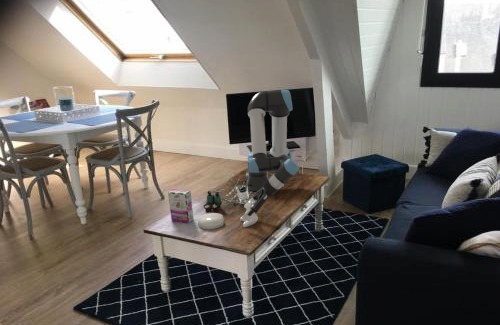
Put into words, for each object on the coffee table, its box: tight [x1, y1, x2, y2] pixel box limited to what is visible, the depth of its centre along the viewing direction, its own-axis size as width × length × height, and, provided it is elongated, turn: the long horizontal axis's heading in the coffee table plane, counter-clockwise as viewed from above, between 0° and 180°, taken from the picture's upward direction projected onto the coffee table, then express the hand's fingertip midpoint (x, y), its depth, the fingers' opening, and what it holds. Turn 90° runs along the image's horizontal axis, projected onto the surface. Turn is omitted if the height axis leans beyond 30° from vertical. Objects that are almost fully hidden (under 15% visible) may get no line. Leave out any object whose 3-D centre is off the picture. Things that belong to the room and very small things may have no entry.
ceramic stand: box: [197, 212, 225, 230], centre depth 207 cm, size 14×14×3 cm
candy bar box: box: [167, 189, 194, 224], centre depth 211 cm, size 11×5×16 cm, turn 66°
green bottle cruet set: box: [203, 190, 223, 213], centre depth 221 cm, size 9×10×10 cm
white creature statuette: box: [239, 200, 259, 228], centre depth 205 cm, size 10×9×12 cm
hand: (244, 213), depth 205 cm, fingers open, 13 cm apart
